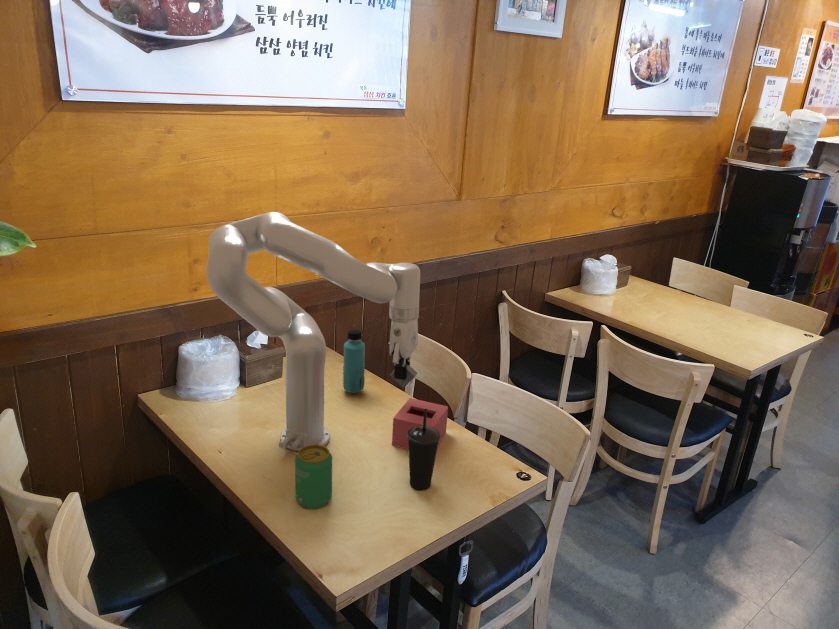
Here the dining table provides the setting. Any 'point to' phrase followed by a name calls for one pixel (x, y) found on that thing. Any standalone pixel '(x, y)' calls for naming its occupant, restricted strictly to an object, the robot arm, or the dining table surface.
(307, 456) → the beverage can
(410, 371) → the grey flat block
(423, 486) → the drinking cup
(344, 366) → the beverage bottle
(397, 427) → the red slotted block
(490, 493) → the dining table surface
